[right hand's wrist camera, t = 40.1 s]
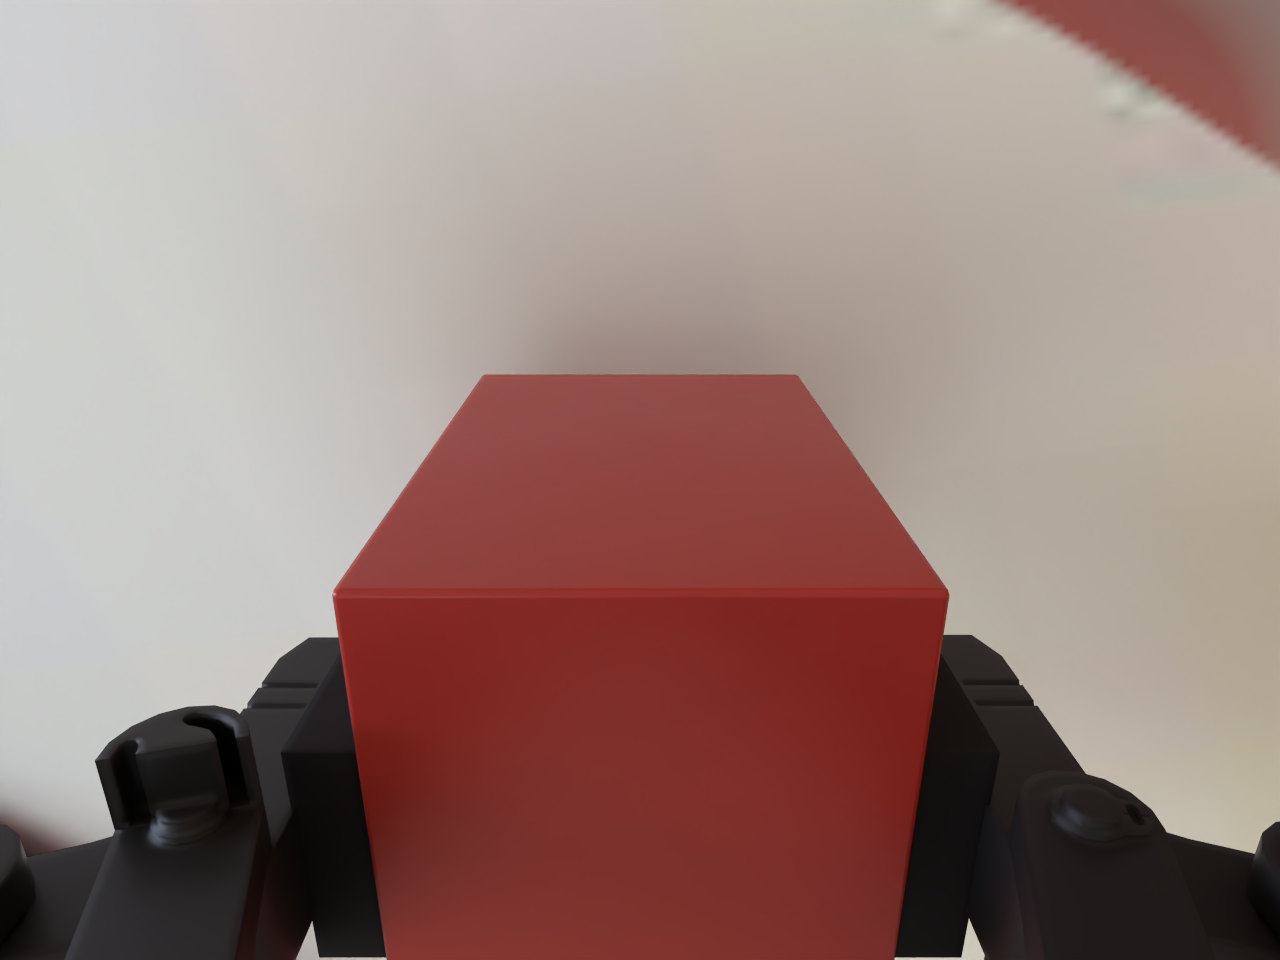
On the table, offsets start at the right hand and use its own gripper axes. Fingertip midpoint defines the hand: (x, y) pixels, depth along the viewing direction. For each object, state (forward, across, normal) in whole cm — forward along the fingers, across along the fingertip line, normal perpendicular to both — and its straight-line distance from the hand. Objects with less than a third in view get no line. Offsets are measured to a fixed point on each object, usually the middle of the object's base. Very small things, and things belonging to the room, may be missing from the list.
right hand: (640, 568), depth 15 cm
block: (+1, 0, 0) cm, 1 cm away
